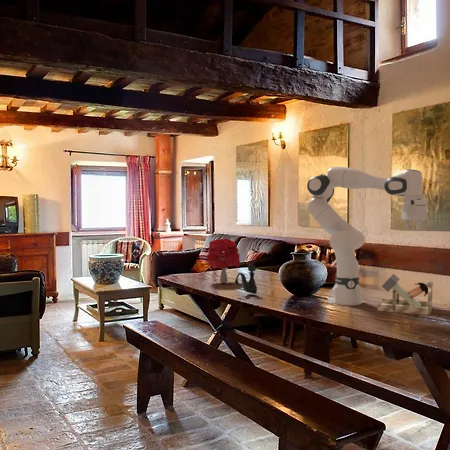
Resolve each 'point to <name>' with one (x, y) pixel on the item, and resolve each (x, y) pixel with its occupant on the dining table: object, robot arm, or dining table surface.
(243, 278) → the cat figurine
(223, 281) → the bouquet
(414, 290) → the grandmother figurine
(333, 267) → the stew
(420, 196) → the robot arm
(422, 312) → the frame
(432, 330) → the dining table surface
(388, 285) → the hammer
